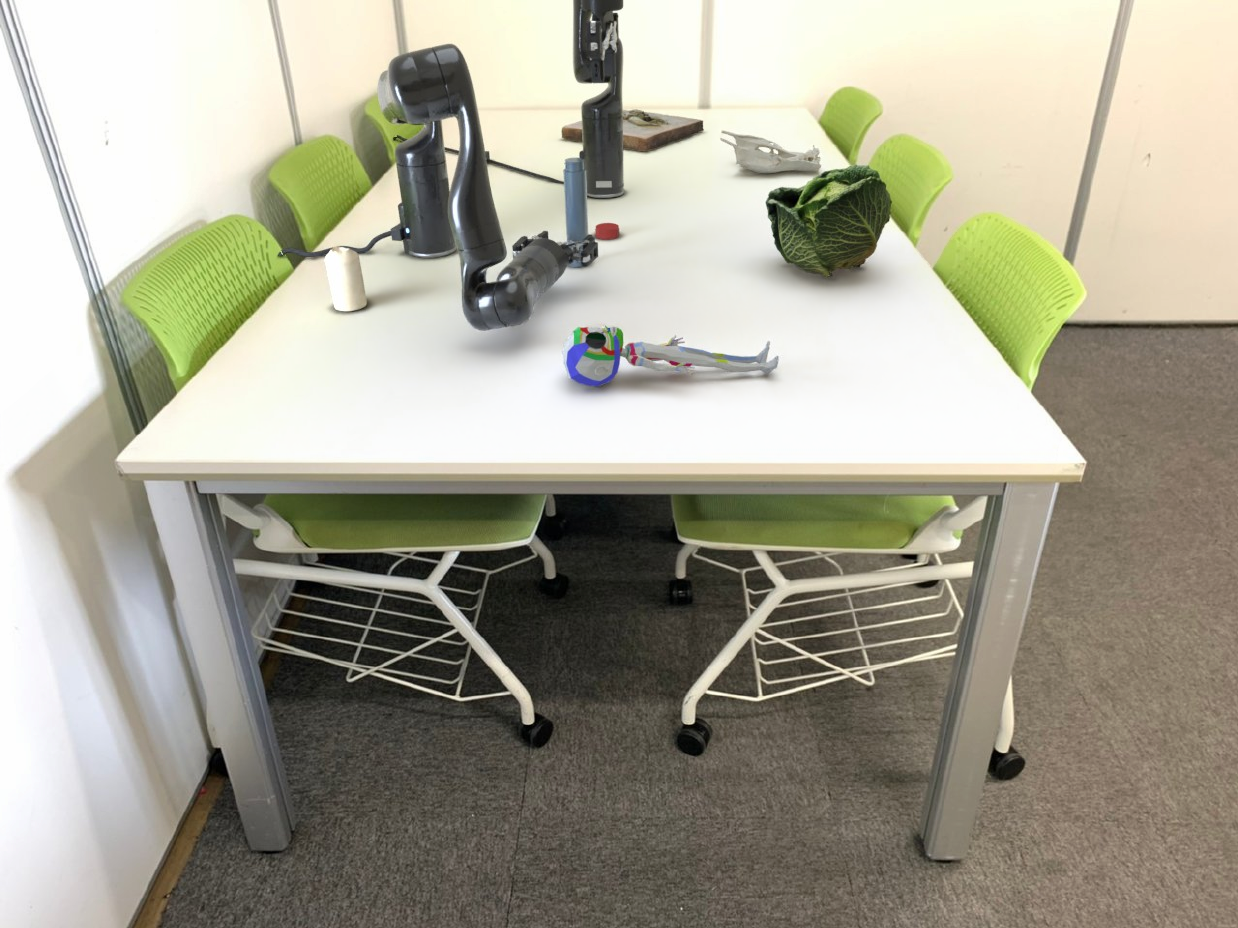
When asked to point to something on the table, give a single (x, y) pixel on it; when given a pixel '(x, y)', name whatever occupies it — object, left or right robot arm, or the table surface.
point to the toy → (644, 356)
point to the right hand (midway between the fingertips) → (604, 78)
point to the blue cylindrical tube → (575, 202)
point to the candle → (345, 279)
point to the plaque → (645, 129)
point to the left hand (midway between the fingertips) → (568, 238)
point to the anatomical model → (770, 155)
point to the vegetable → (830, 219)
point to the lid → (607, 231)
